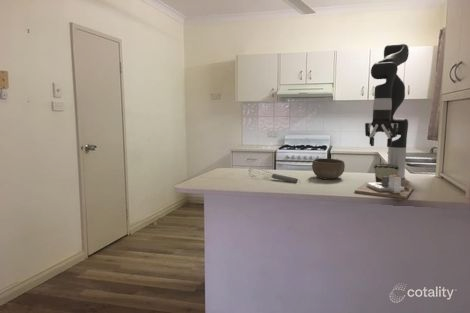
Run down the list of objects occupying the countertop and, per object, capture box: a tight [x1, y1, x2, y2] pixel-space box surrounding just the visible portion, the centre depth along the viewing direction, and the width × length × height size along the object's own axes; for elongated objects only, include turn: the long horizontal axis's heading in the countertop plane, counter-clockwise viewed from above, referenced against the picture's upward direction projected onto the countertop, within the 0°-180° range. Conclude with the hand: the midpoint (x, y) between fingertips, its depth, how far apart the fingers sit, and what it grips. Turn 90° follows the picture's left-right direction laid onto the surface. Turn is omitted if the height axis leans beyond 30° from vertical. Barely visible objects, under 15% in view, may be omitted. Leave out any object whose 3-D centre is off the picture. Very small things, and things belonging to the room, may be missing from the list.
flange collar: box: [367, 175, 404, 194], centre depth 166 cm, size 16×12×8 cm
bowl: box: [311, 158, 346, 180], centre depth 203 cm, size 17×18×10 cm
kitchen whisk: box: [248, 166, 301, 184], centre depth 198 cm, size 6×34×6 cm, turn 51°
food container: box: [373, 163, 399, 183], centre depth 187 cm, size 12×6×10 cm, turn 59°
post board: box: [354, 176, 415, 199], centre depth 169 cm, size 22×22×7 cm
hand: (380, 146), depth 160 cm, fingers open, 6 cm apart
